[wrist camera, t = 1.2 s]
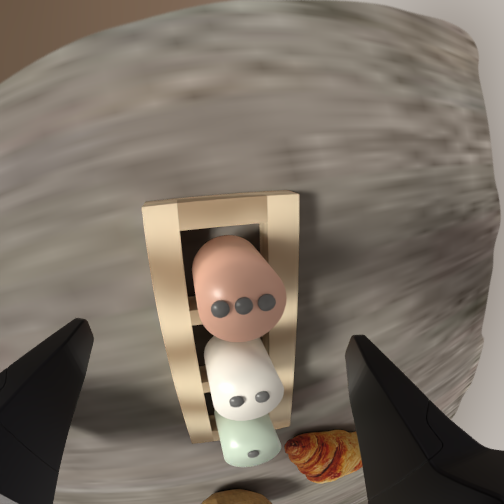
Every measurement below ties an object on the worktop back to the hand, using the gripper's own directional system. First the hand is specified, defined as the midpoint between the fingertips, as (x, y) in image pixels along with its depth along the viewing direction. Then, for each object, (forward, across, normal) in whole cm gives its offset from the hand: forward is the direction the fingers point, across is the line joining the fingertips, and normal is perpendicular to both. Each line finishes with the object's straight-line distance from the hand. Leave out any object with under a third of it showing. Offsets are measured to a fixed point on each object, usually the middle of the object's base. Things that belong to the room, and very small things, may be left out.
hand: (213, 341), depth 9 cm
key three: (+11, 0, +5) cm, 12 cm away
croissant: (+11, -14, +36) cm, 41 cm away
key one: (+9, -1, +19) cm, 21 cm away
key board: (+12, 0, +13) cm, 18 cm away
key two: (+10, 0, +12) cm, 16 cm away
